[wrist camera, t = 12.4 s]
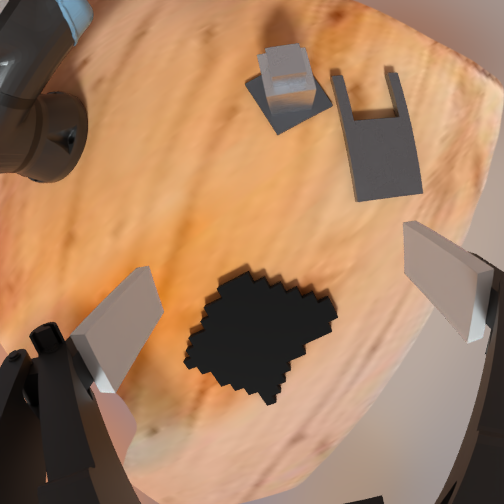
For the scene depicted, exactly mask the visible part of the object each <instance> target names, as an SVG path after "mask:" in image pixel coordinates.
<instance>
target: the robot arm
mask: <svg viewBox="0 0 504 504" xmlns="http://www.w3.org/2000/svg"><path fill="white" fill-rule="evenodd" d="M92 20H93V10H92V7H91V5H90V4H89V3H88V1H87V0H0V173H17V174H19V175H22V176H24V177H28V178H29V179H31V180H32V181H35V182H38V183H53V182H57V181H60V180H61V179H63V178H64V177H66V176H67V175H68V174H69V173H70V172H71V171H72V170H73V168H74V167H75V166H76V164H77V162H78V161H79V159H80V157H81V154H82V152H83V149H84V146H85V142H86V137H87V126H88V125H87V115H86V111H85V109H84V106H83V104H82V103H81V101H80V100H79V99H78V98H77V97H75V96H73V95H71V94H68V93H65V92H59V91H56V92H50V93H47V94H40V93H41V92H42V90H43V88H44V87H45V85H46V84H47V82H48V81H49V79H50V78H51V76H52V75H53V73H54V72H55V70H56V69H57V68H58V66H59V65H60V63H61V62H62V61H63V59H64V58H65V57H66V55H67V54H68V53H69V51H70V50H71V49H72V47H73V46H76V44H77V43H78V39H79V38H80V37H81V35H82V34H83V33H84V31H85V30H86V29H87V28H88V26H89V25H90V24H91V22H92ZM403 235H404V273H405V274H406V275H407V277H408V278H409V279H410V280H411V281H412V282H413V283H414V284H415V285H416V286H417V287H418V288H419V289H420V290H421V291H422V293H423V294H424V295H425V296H426V297H427V298H428V299H429V300H430V301H431V302H432V303H433V305H434V306H435V307H436V308H437V309H438V310H439V311H440V312H441V314H442V315H443V316H444V317H445V318H446V319H447V320H448V322H449V323H450V324H451V325H452V326H453V327H454V329H455V330H456V331H457V332H458V333H459V335H460V336H461V337H462V338H463V339H464V340H465V342H466V343H470V342H473V341H475V340H479V339H481V338H483V333H484V329H485V325H486V324H487V325H488V326H489V327H490V328H491V332H490V337H489V341H488V345H487V349H486V353H485V354H486V359H485V364H484V369H483V374H482V378H481V382H480V386H479V390H478V394H477V398H476V402H475V405H474V408H473V412H472V415H471V418H470V422H469V425H468V428H467V431H466V434H465V437H464V439H463V442H462V445H461V448H460V450H459V453H458V455H457V458H456V460H455V463H454V466H453V468H452V470H451V472H450V475H449V477H448V479H447V481H446V483H445V486H444V488H443V490H442V492H441V493H440V495H439V497H438V499H437V500H436V502H435V504H504V272H503V271H501V270H499V269H498V268H497V267H495V266H494V265H492V264H491V263H489V262H488V261H486V260H483V258H481V257H480V256H478V255H477V254H474V253H471V252H468V251H466V250H464V249H463V248H461V247H460V246H458V245H456V244H455V243H453V242H452V241H450V240H448V239H447V238H445V237H443V236H442V235H440V234H438V233H437V232H435V231H433V230H431V229H430V228H428V227H426V226H425V225H423V224H421V223H419V222H417V221H410V222H404V223H403ZM163 313H164V310H163V307H162V305H161V302H160V299H159V296H158V293H157V290H156V287H155V284H154V281H153V277H152V274H151V271H150V268H149V266H145V267H139V268H136V269H135V270H134V271H133V272H132V273H131V274H130V275H129V276H128V277H127V278H126V279H124V280H123V281H122V282H121V283H120V284H119V285H118V286H117V287H116V288H115V289H114V290H113V291H112V292H111V293H110V294H109V295H108V296H107V297H106V298H105V299H104V300H103V301H102V302H101V303H100V304H99V305H98V306H97V307H96V308H95V309H94V310H93V311H92V312H91V313H90V314H89V315H88V316H87V317H86V318H85V320H84V321H83V322H82V323H81V324H80V325H79V326H78V327H77V328H76V329H75V330H74V331H73V332H72V333H71V334H70V337H69V338H68V339H67V340H66V341H65V340H64V338H63V336H62V334H61V332H60V330H59V328H58V326H57V324H56V323H55V322H49V323H46V324H43V325H41V326H39V327H37V328H36V329H34V330H33V331H32V332H31V333H30V336H29V337H30V339H31V341H32V343H33V345H34V347H35V349H36V351H37V352H38V354H39V356H38V357H37V358H33V359H31V358H30V356H29V354H28V353H27V351H26V350H25V349H19V350H17V351H16V350H15V351H13V352H11V353H10V354H9V355H8V356H7V357H6V358H5V360H4V361H3V363H2V365H1V367H0V504H141V502H140V501H139V499H138V497H137V495H136V493H135V491H134V489H133V487H132V485H131V483H130V481H129V479H128V477H127V475H126V473H125V471H124V469H123V467H122V464H121V462H120V460H119V458H118V456H117V453H116V451H115V449H114V446H113V444H112V441H111V439H110V436H109V434H108V432H107V429H106V426H105V424H104V421H103V418H102V416H101V413H100V410H99V407H98V404H97V401H96V398H95V395H94V393H93V391H92V390H91V388H90V386H91V384H92V383H93V381H94V382H95V383H96V385H97V387H98V389H99V390H100V392H106V393H116V391H117V390H118V388H119V386H120V384H121V383H122V381H123V379H124V378H125V376H126V374H127V372H128V371H129V369H130V367H131V366H132V364H133V362H134V360H135V359H136V357H137V355H138V354H139V352H140V350H141V349H142V347H143V345H144V344H145V342H146V340H147V339H148V337H149V336H150V334H151V332H152V331H153V329H154V327H155V326H156V324H157V322H158V321H159V319H160V318H161V316H162V314H163ZM24 398H25V399H24ZM25 400H26V401H27V402H26V401H25ZM46 472H47V477H48V482H47V483H46ZM345 504H384V502H383V497H382V496H377V497H373V498H369V499H365V500H360V501H355V502H350V503H345Z"/></svg>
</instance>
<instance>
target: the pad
mask: <svg viewBox="0 0 504 504" xmlns="http://www.w3.org/2000/svg"><path fill="white" fill-rule="evenodd" d="M313 78H314V77H313ZM314 82H315V86H316V93H315V97H314V101H313V105H312V109H308V110H301V111H294V112H288V113H282V114H276V115H271V112H270V108H269V105H268V101H267V98H266V93H265V89H264V84H263V79H262V75H260V76H258V77H257V78H255V79H253V80H251V81H249V82H248V83H246V84H245V86H246V87H247V89H248V90H249V92H250V93H251V95H252V96H253V98H254V99H255V101H256V102H257V104H258V105H259V107H260V108H261V110H262V111H263V113H264V115H265V116H266V118H267V119H268V121H269V122H270V124H271V126H272V127H273V129H274V130H275V132H276V133H277V135H279V134H281V133H283V132H285V131H287V130H288V129H290V128H292V127H294V126H296V125H298V124H299V123H301V122H303V121H305V120H307V119H309V118H311V117H313V116H315V115H317V114H318V113H320V112H322V111H324V110H326V109H328V108H330V107H332V106H333V105H332V103H331V102H330V100H329V99H328V97H327V96H326V94H325V93H324V91H323V90H322V88H321V87H320V85H319V84H318V82H317V81H316V79H315V78H314Z"/></svg>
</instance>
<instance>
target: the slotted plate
mask: <svg viewBox="0 0 504 504" xmlns="http://www.w3.org/2000/svg"><path fill="white" fill-rule="evenodd" d="M385 78H386V82H387V85H388V89H389V93H390V96H391V100H392V104H393V108H394V112H395V116H396V118H381V119H369V120H358V121H354V119H353V115H352V110H351V106H350V102H349V98H348V94H347V90H346V86H345V82H344V79H343V75H340V76H332V77H331V84H332V87H333V91H334V95H335V100H336V104H337V108H338V112H339V117H340V121H341V126H342V130H343V135H344V140H345V145H346V150H347V155H348V160H349V166H350V172H351V177H352V183H353V189H354V196H355V202H362V201H369V200H376V199H384V198H391V197H399V196H407V195H415V194H423V189H422V182H421V175H420V168H419V162H418V157H417V151H416V146H415V141H414V136H413V131H412V126H411V122H410V118H409V113H408V109H407V105H406V101H405V98H404V94H403V90H402V87H401V83H400V80H399V76H398V73H387V74H386V75H385Z"/></svg>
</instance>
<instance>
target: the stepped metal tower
mask: <svg viewBox="0 0 504 504" xmlns="http://www.w3.org/2000/svg"><path fill="white" fill-rule="evenodd" d="M265 52H266V53H264V54H259V55H257V57H258V62H259V66H260V71H261V75H262V79H263V84H264V89H265V93H266V98H267V101H268V105H269V108H270V112H271V115H276V114H282V113H288V112H294V111H301V110H308V109H312V105H313V101H314V97H315V93H316V86H315V82H314V78H313V74H312V70H311V67H310V63H309V59H308V56H307V52H306V49H305V47H304V48H300V45H299V43H296V44H289V45H282V46H276V47H270V48H265Z"/></svg>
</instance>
